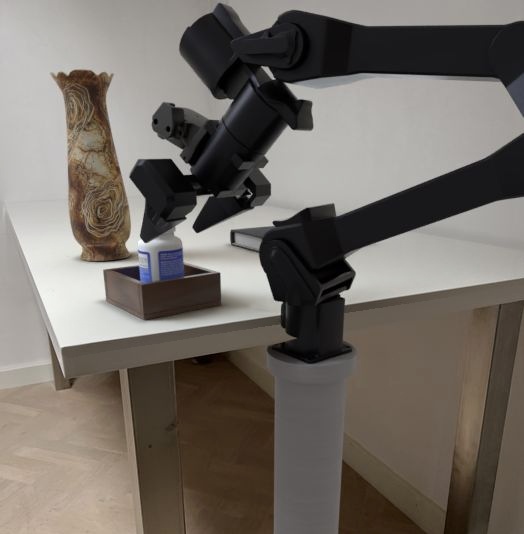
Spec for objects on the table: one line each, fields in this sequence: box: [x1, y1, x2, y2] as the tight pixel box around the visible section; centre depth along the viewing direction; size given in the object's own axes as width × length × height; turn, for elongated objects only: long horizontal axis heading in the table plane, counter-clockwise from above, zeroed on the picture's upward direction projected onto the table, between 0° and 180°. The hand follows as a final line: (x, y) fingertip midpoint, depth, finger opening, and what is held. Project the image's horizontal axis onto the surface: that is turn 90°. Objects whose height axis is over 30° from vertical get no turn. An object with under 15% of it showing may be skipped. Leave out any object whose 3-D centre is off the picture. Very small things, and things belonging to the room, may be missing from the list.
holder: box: [102, 261, 222, 321], centre depth 69 cm, size 11×11×4 cm
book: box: [229, 225, 276, 253], centre depth 112 cm, size 22×15×3 cm
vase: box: [49, 68, 132, 262], centre depth 95 cm, size 10×11×30 cm
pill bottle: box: [137, 219, 185, 283], centre depth 68 cm, size 5×5×10 cm
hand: (170, 234), depth 66 cm, fingers open, 9 cm apart
